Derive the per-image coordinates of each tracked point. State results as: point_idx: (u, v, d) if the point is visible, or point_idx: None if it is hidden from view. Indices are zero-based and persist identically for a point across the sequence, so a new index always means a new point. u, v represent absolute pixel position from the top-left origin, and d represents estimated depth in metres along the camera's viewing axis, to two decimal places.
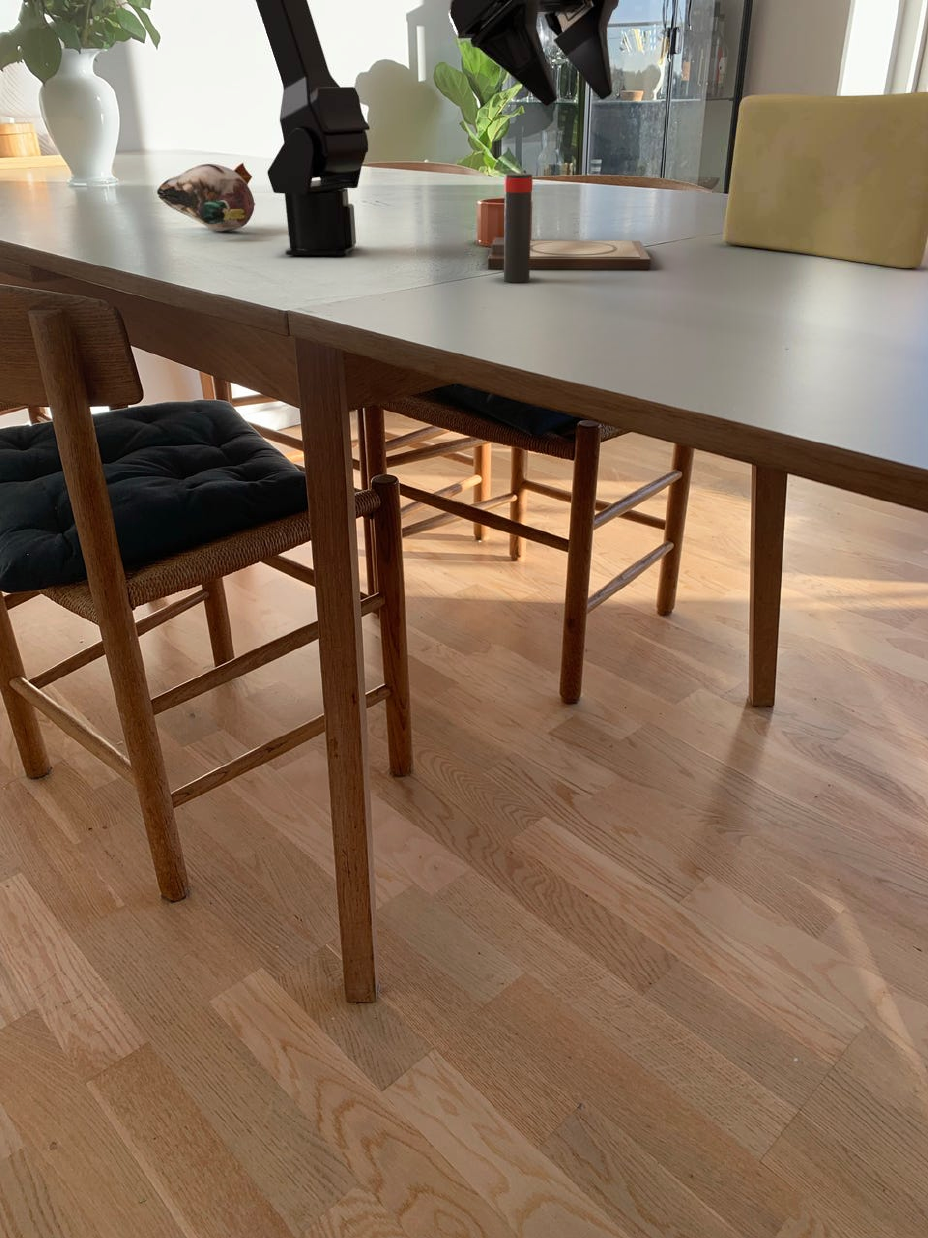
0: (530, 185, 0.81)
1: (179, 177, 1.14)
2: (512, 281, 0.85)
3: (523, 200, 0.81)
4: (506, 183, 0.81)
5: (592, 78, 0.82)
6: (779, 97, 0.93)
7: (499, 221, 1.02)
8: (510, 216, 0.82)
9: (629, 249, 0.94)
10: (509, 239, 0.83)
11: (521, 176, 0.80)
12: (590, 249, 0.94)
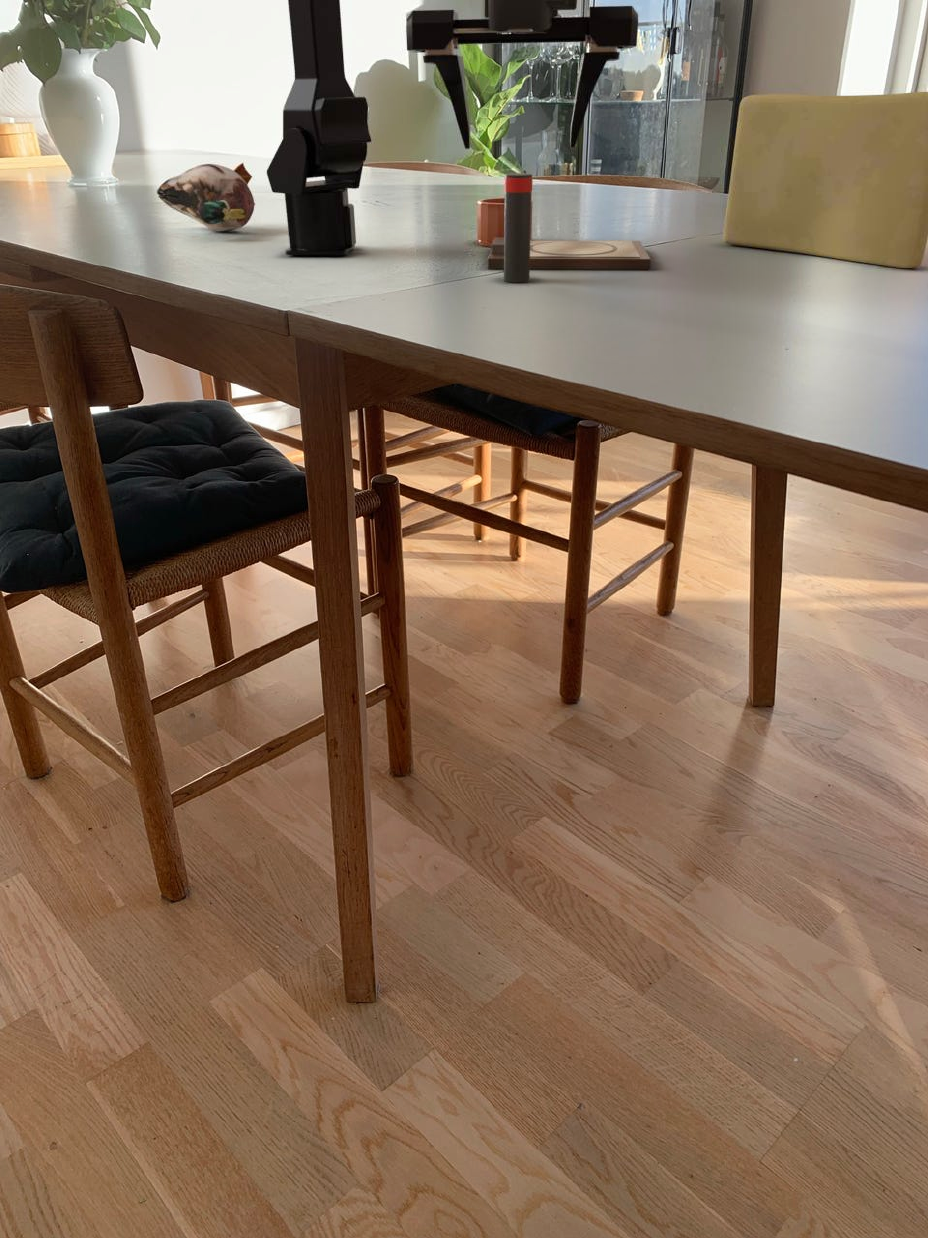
0: (530, 185, 0.81)
1: (179, 177, 1.14)
2: (512, 281, 0.85)
3: (523, 200, 0.81)
4: (506, 183, 0.81)
5: None
6: (779, 97, 0.93)
7: (499, 221, 1.02)
8: (510, 216, 0.82)
9: (629, 249, 0.94)
10: (509, 239, 0.83)
11: (521, 176, 0.80)
12: (590, 249, 0.94)
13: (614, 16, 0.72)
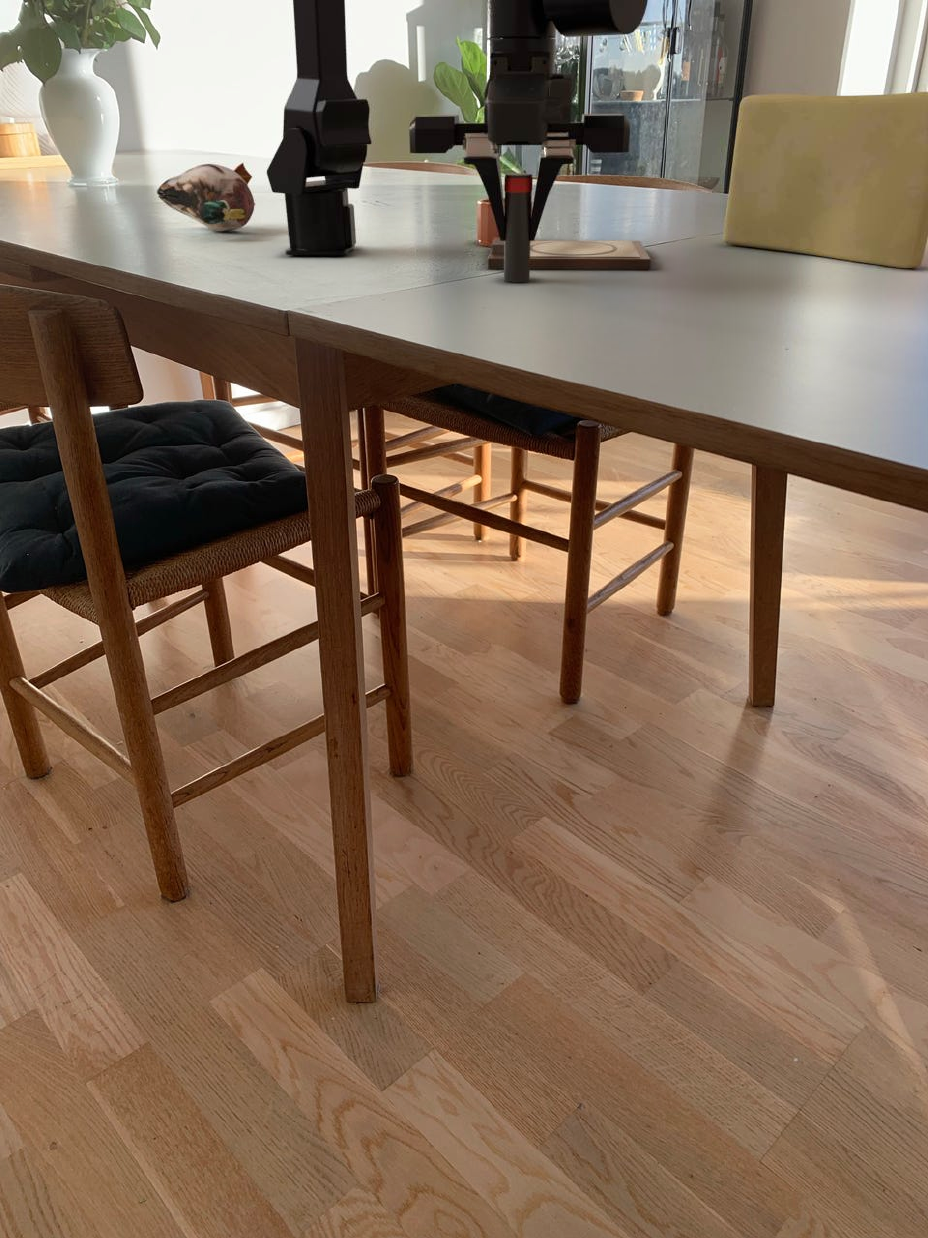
0: (530, 185, 0.81)
1: (179, 177, 1.14)
2: (512, 281, 0.85)
3: (523, 200, 0.81)
4: (506, 183, 0.81)
5: None
6: (779, 97, 0.93)
7: None
8: (510, 216, 0.82)
9: (629, 249, 0.94)
10: (509, 239, 0.83)
11: (521, 176, 0.80)
12: (590, 249, 0.94)
13: (607, 125, 0.76)
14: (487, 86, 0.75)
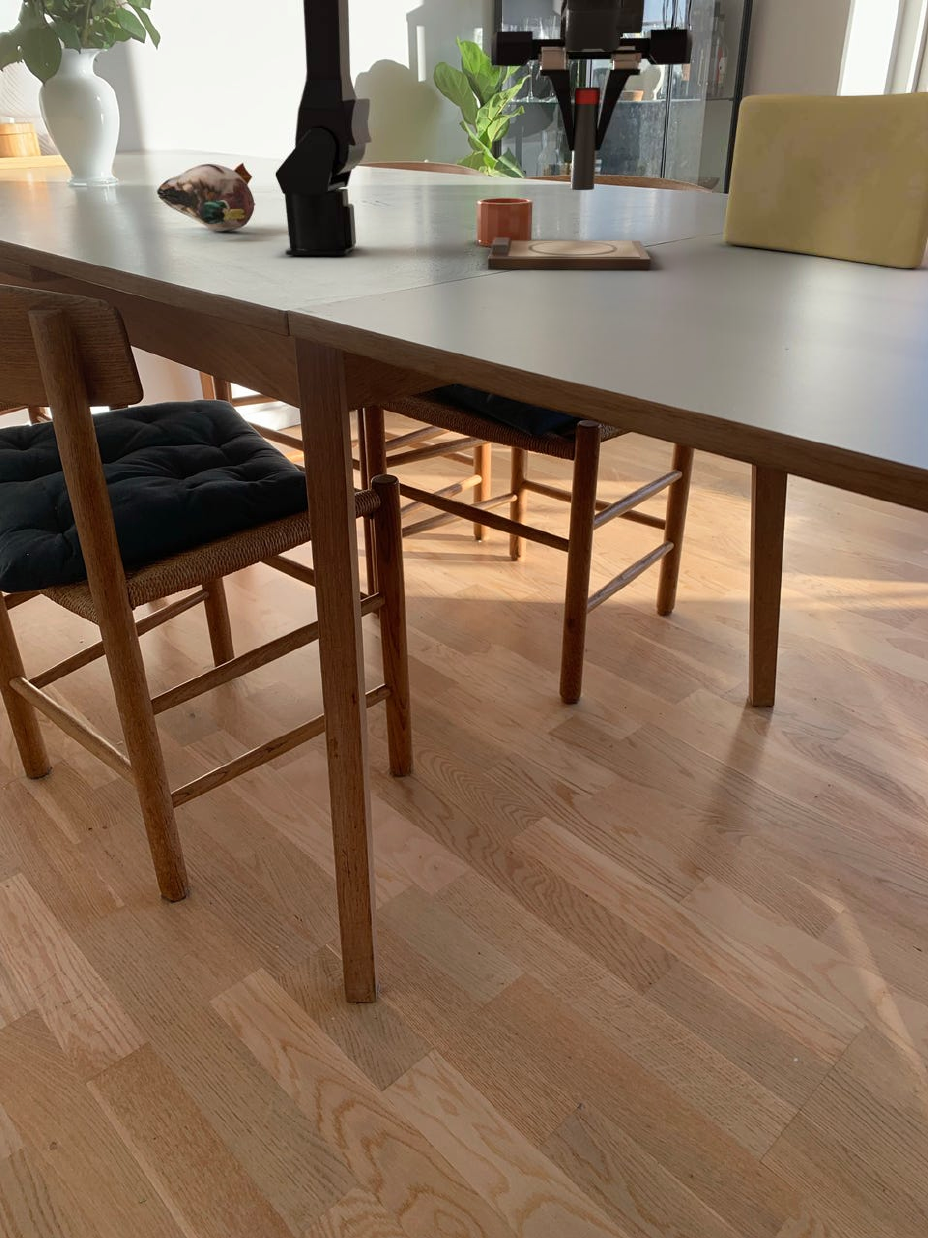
0: (598, 97, 0.89)
1: (179, 177, 1.14)
2: (579, 188, 0.92)
3: (592, 111, 0.89)
4: (576, 95, 0.89)
5: None
6: (779, 97, 0.93)
7: (499, 221, 1.02)
8: (579, 126, 0.90)
9: (629, 249, 0.94)
10: (577, 149, 0.91)
11: (590, 88, 0.88)
12: (590, 249, 0.94)
13: (672, 38, 0.84)
14: (564, 1, 0.83)
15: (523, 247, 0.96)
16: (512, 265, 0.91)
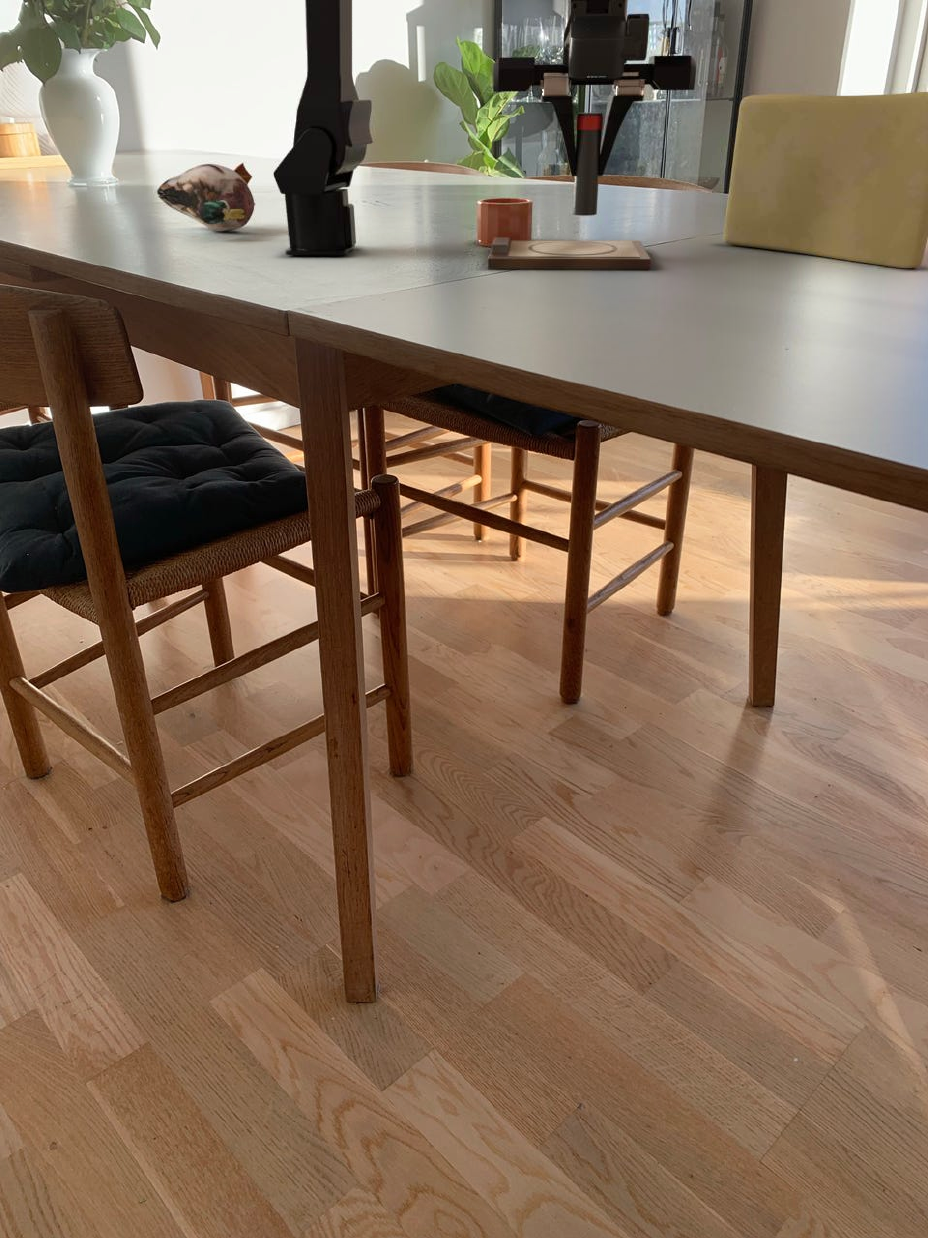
0: (601, 123, 0.88)
1: (179, 177, 1.14)
2: (581, 214, 0.92)
3: (595, 137, 0.88)
4: (578, 121, 0.88)
5: (600, 153, 0.90)
6: (779, 97, 0.93)
7: (499, 221, 1.02)
8: (582, 152, 0.89)
9: (629, 249, 0.94)
10: (580, 174, 0.90)
11: (593, 114, 0.87)
12: (590, 249, 0.94)
13: (675, 64, 0.83)
14: (567, 28, 0.82)
15: (523, 247, 0.96)
16: (512, 265, 0.91)
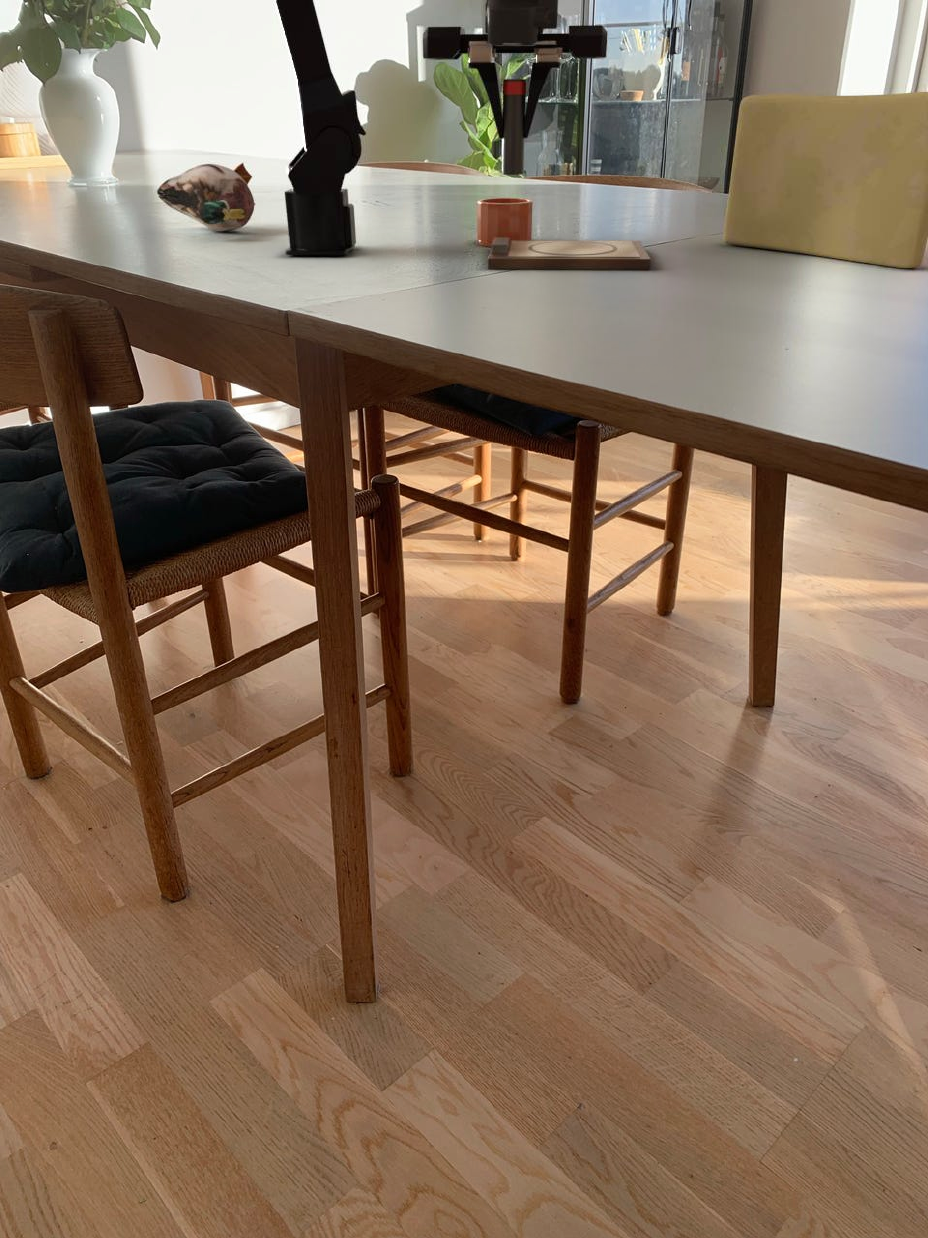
0: (524, 88, 0.96)
1: (179, 177, 1.14)
2: (509, 173, 0.99)
3: (518, 101, 0.96)
4: (504, 86, 0.96)
5: None
6: (779, 97, 0.93)
7: (499, 221, 1.02)
8: (507, 115, 0.97)
9: (629, 249, 0.94)
10: (506, 136, 0.98)
11: (516, 80, 0.95)
12: (590, 249, 0.94)
13: (588, 33, 0.91)
14: None
15: (523, 247, 0.96)
16: (512, 265, 0.91)
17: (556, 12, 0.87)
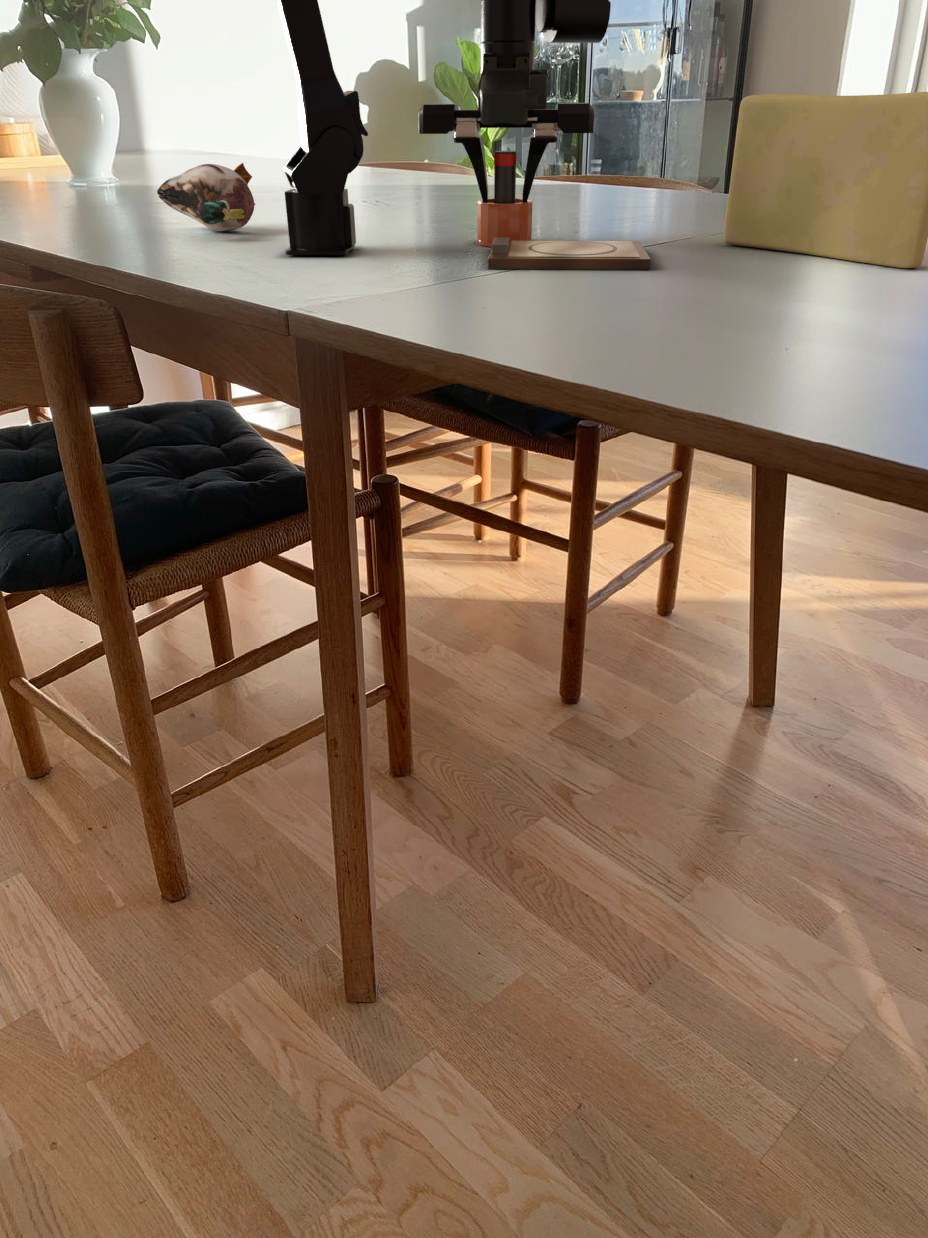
0: (515, 160, 1.01)
1: (179, 177, 1.14)
2: None
3: (509, 172, 1.01)
4: (495, 158, 1.01)
5: None
6: (779, 97, 0.93)
7: (499, 221, 1.02)
8: (499, 185, 1.02)
9: (629, 249, 0.94)
10: None
11: (507, 152, 1.00)
12: (590, 249, 0.94)
13: (576, 111, 0.96)
14: (480, 80, 0.95)
15: (523, 247, 0.96)
16: (512, 265, 0.91)
17: (545, 95, 0.91)
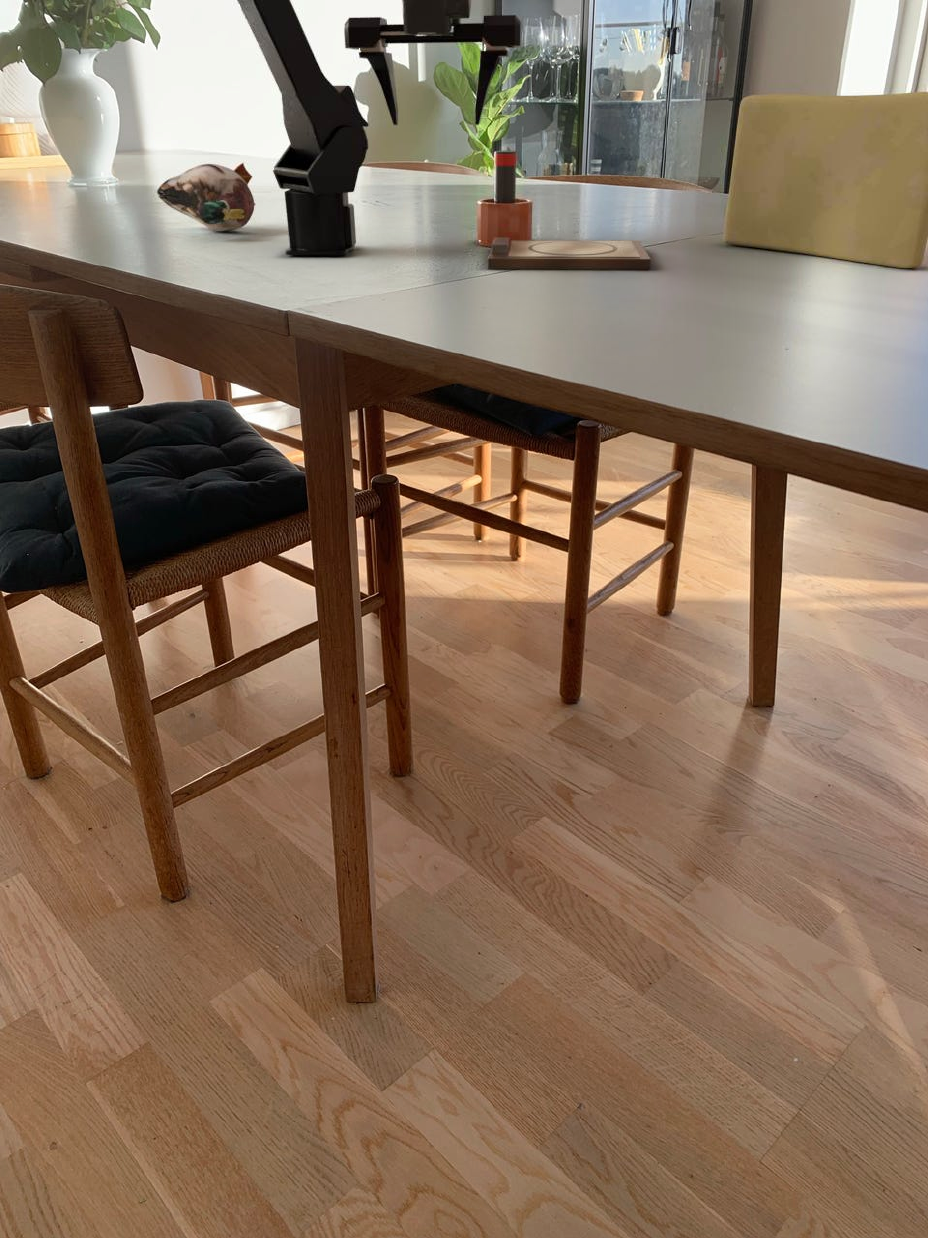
0: (515, 160, 1.01)
1: (179, 177, 1.14)
2: None
3: (509, 172, 1.01)
4: (495, 158, 1.01)
5: None
6: (779, 97, 0.93)
7: (499, 221, 1.02)
8: (499, 185, 1.02)
9: (629, 249, 0.94)
10: None
11: (507, 152, 1.00)
12: (590, 249, 0.94)
13: (502, 23, 0.95)
14: None
15: (523, 247, 0.96)
16: (512, 265, 0.91)
17: (467, 2, 0.90)
